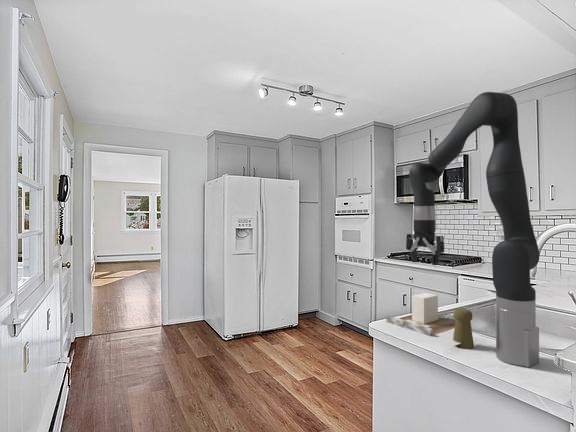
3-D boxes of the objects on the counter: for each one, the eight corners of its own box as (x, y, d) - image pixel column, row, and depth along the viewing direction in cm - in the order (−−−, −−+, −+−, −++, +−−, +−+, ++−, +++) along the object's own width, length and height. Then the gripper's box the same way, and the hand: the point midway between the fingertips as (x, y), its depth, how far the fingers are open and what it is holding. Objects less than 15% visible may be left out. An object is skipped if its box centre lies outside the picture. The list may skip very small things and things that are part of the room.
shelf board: (465, 328, 124) (465, 318, 124) (429, 340, 113) (429, 329, 113) (421, 316, 139) (421, 307, 139) (385, 325, 128) (385, 316, 128)
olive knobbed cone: (478, 348, 106) (477, 312, 106) (457, 349, 106) (457, 312, 106) (468, 341, 112) (468, 306, 112) (448, 341, 113) (448, 306, 112)
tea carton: (423, 324, 125) (423, 298, 125) (411, 320, 130) (411, 295, 129) (437, 319, 130) (437, 295, 129) (425, 316, 134) (425, 292, 134)
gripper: (448, 218, 125) (448, 265, 125) (414, 218, 137) (414, 260, 137) (435, 219, 121) (435, 267, 121) (401, 218, 133) (401, 262, 133)
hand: (424, 263), depth 129 cm, fingers open, 8 cm apart
